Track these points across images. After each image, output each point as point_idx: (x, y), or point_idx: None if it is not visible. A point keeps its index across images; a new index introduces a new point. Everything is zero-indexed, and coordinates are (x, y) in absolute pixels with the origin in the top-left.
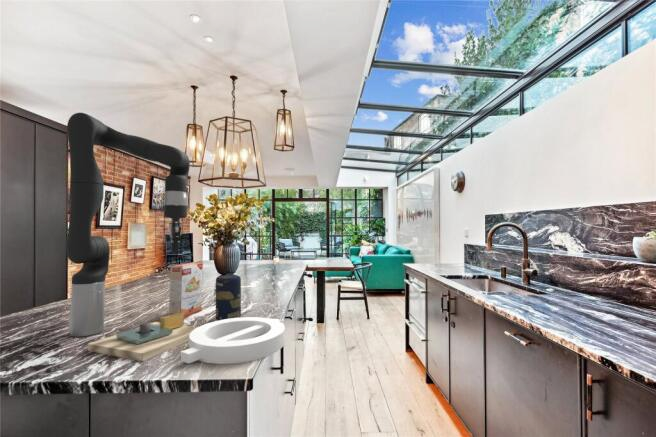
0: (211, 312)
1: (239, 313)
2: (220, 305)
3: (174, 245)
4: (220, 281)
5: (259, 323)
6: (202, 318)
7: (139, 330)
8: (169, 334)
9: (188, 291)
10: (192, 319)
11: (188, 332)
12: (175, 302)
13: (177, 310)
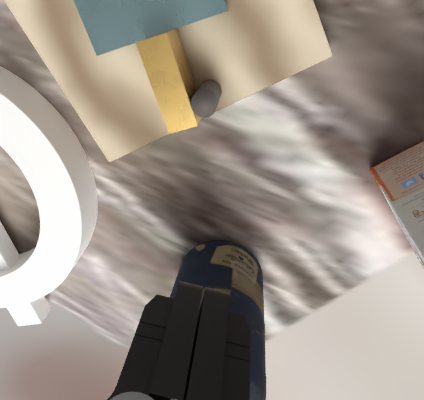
0: (358, 274)
1: None
2: (194, 275)
3: (123, 371)
4: None
5: (3, 272)
6: (305, 222)
7: None
8: None
9: (422, 262)
10: (322, 194)
11: (92, 104)
12: (418, 183)
13: (394, 173)
